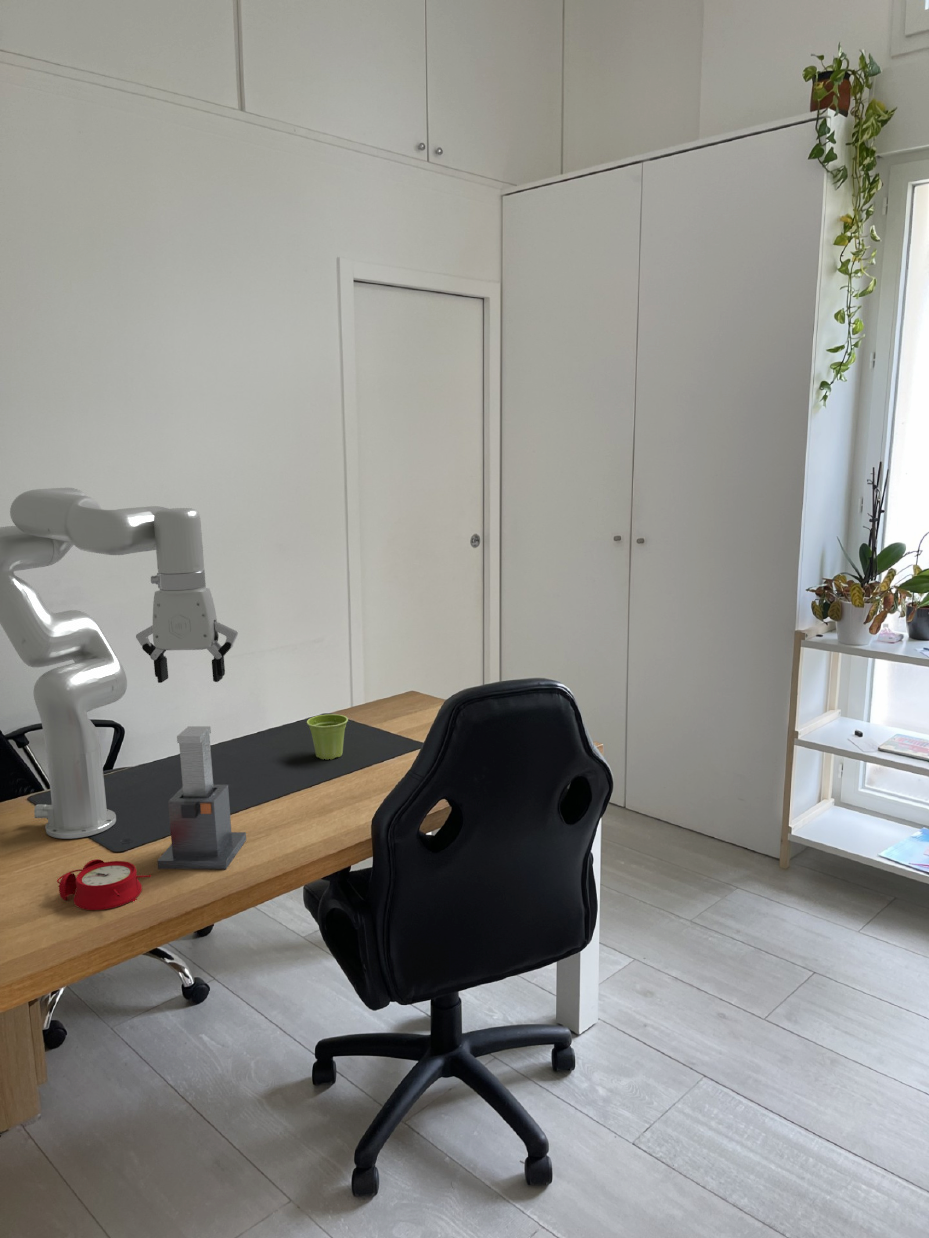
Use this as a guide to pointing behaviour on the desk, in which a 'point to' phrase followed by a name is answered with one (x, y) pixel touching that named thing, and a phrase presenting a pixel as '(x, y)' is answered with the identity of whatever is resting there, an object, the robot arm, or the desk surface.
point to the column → (196, 762)
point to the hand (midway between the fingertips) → (190, 680)
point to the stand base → (201, 832)
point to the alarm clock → (102, 885)
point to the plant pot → (328, 735)
